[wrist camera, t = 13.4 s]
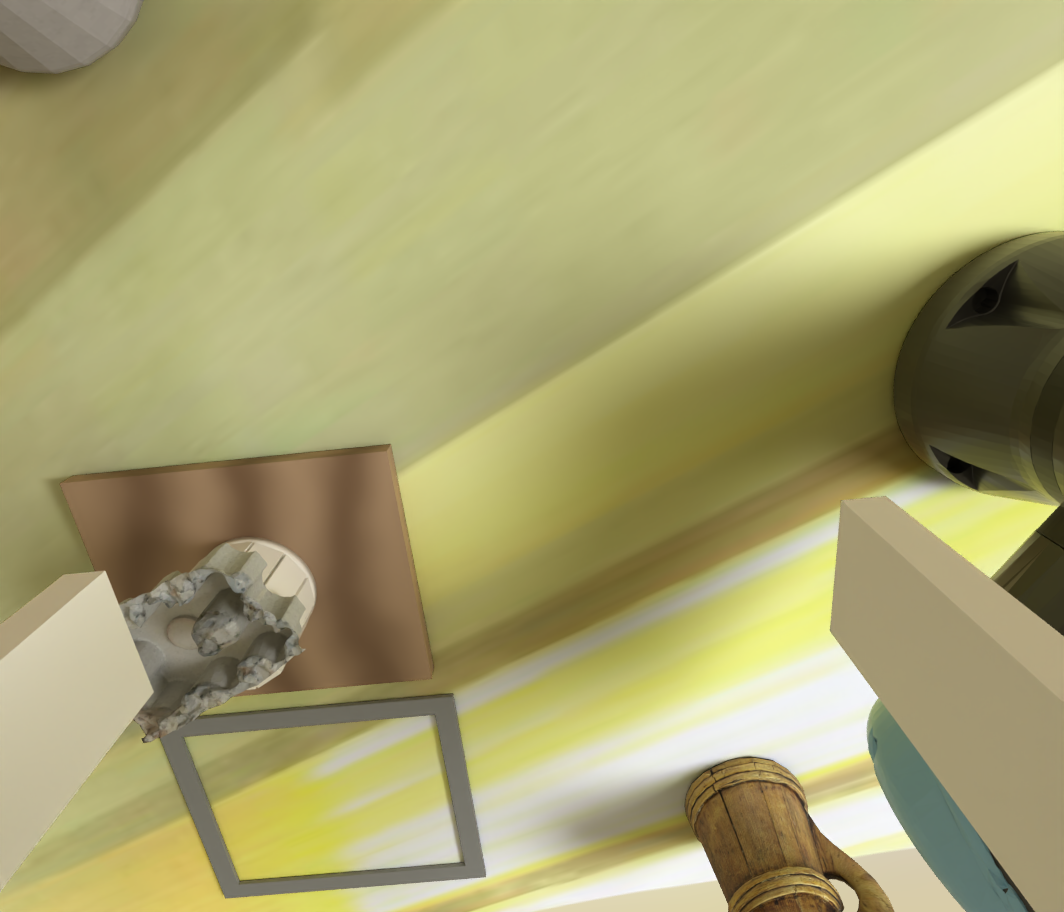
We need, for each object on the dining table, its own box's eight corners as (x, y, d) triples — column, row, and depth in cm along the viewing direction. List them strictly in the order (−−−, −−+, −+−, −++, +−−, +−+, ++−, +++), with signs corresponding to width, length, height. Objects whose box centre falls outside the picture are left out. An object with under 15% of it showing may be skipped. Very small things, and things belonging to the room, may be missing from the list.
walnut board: (390, 444, 39) (386, 451, 38) (433, 667, 45) (431, 678, 44) (72, 475, 39) (59, 483, 38) (158, 692, 45) (149, 704, 44)
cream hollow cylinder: (301, 531, 39) (270, 576, 35) (327, 630, 42) (302, 684, 37) (184, 542, 40) (137, 588, 35) (217, 640, 42) (178, 696, 37)
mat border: (452, 693, 46) (452, 696, 45) (486, 873, 53) (485, 877, 52) (155, 720, 46) (153, 723, 46) (227, 894, 53) (225, 898, 53)
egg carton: (178, 697, 38) (139, 752, 34) (92, 602, 35) (39, 650, 31) (328, 629, 36) (304, 679, 32) (249, 524, 33) (213, 565, 30)
